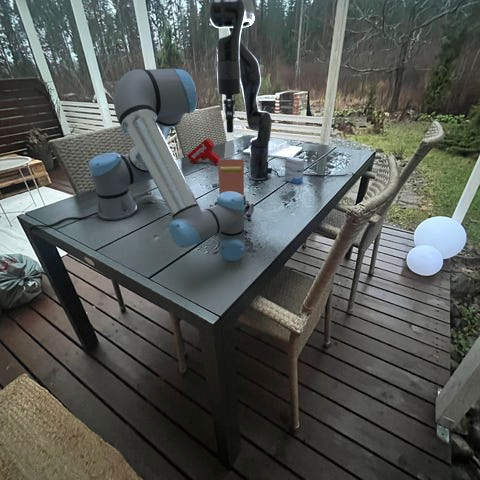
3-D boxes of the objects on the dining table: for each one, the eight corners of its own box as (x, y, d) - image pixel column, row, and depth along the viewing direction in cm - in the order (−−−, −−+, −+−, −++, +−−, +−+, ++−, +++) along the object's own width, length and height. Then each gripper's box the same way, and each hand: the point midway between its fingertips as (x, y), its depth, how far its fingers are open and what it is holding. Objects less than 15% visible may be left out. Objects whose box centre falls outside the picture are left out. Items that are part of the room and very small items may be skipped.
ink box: (302, 181, 142) (305, 159, 136) (297, 184, 139) (300, 161, 133) (289, 177, 147) (291, 156, 141) (284, 180, 144) (285, 158, 138)
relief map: (291, 159, 177) (291, 151, 174) (243, 153, 190) (243, 145, 187) (302, 149, 197) (303, 142, 194) (258, 144, 211) (258, 137, 208)
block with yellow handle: (218, 159, 101) (217, 159, 93) (243, 159, 102) (244, 158, 94) (219, 195, 105) (218, 198, 97) (243, 195, 105) (244, 197, 97)
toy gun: (223, 158, 167) (209, 137, 163) (221, 160, 164) (206, 138, 160) (204, 173, 177) (189, 154, 173) (201, 175, 174) (186, 155, 170)
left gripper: (200, 236, 93) (205, 208, 112) (264, 235, 93) (258, 207, 112) (198, 217, 89) (203, 190, 108) (265, 216, 89) (259, 190, 108)
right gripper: (218, 76, 95) (220, 126, 103) (216, 78, 83) (218, 134, 91) (239, 76, 95) (239, 126, 103) (240, 78, 83) (241, 134, 92)
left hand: (231, 199), depth 110 cm, fingers closed on chest, 9 cm apart
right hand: (230, 129), depth 97 cm, fingers open, 8 cm apart
